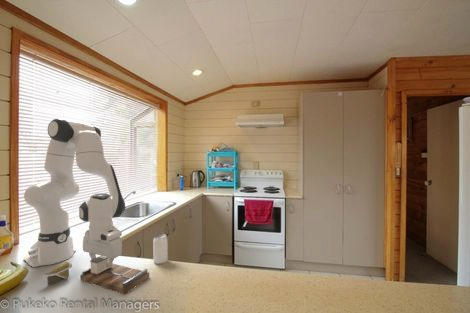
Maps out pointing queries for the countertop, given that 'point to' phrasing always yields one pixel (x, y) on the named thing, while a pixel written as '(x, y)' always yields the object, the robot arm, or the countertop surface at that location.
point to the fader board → (116, 278)
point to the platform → (58, 273)
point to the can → (160, 249)
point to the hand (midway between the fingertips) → (101, 264)
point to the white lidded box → (99, 264)
